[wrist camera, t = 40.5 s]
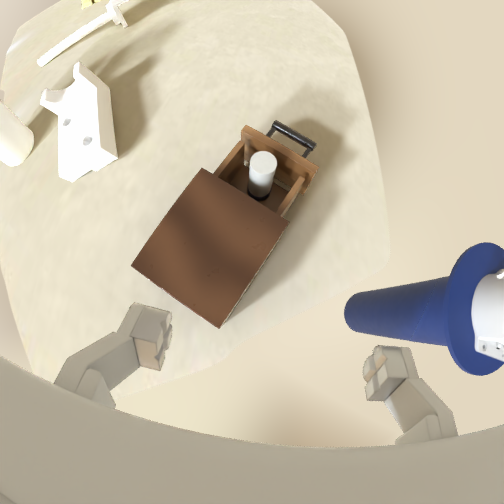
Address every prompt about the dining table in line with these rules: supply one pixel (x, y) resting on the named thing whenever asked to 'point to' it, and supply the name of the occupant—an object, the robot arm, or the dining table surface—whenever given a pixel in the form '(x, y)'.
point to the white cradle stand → (82, 124)
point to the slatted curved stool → (88, 3)
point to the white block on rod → (86, 30)
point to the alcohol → (13, 138)
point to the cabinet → (210, 247)
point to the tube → (261, 175)
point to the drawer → (287, 171)
